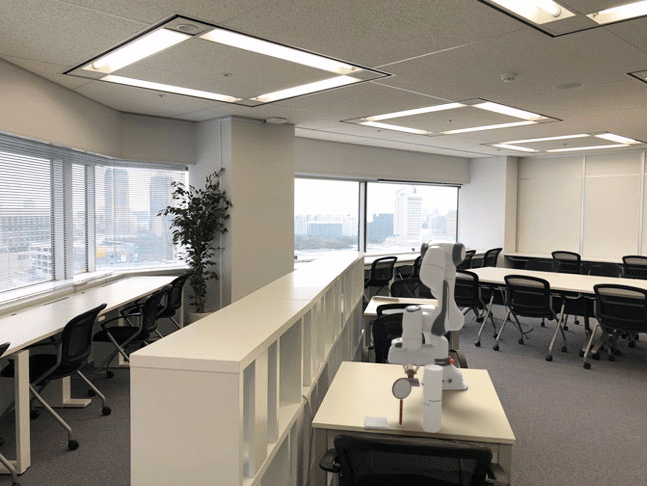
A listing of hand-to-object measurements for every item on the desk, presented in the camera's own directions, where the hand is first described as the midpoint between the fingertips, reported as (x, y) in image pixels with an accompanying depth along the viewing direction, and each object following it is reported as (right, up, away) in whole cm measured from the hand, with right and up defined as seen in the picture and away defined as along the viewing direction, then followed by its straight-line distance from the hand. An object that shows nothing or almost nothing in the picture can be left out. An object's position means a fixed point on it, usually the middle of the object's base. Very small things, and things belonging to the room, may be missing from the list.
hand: (410, 373), depth 221 cm
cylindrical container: (+5, -17, -21) cm, 27 cm away
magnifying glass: (-7, -16, -20) cm, 27 cm away
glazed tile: (-17, -15, -14) cm, 26 cm away
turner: (0, -2, -1) cm, 2 cm away
